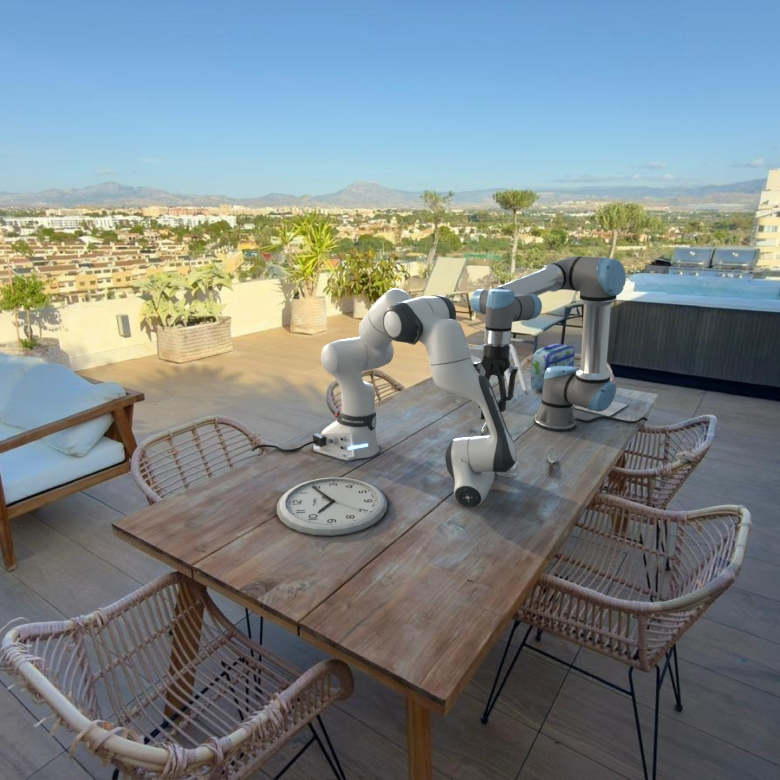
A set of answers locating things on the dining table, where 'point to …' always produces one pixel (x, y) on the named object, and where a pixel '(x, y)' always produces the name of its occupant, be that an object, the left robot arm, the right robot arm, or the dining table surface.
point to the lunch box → (550, 361)
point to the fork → (551, 462)
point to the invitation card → (609, 411)
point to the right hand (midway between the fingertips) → (491, 419)
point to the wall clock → (331, 506)
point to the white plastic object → (477, 356)
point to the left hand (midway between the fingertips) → (488, 453)
